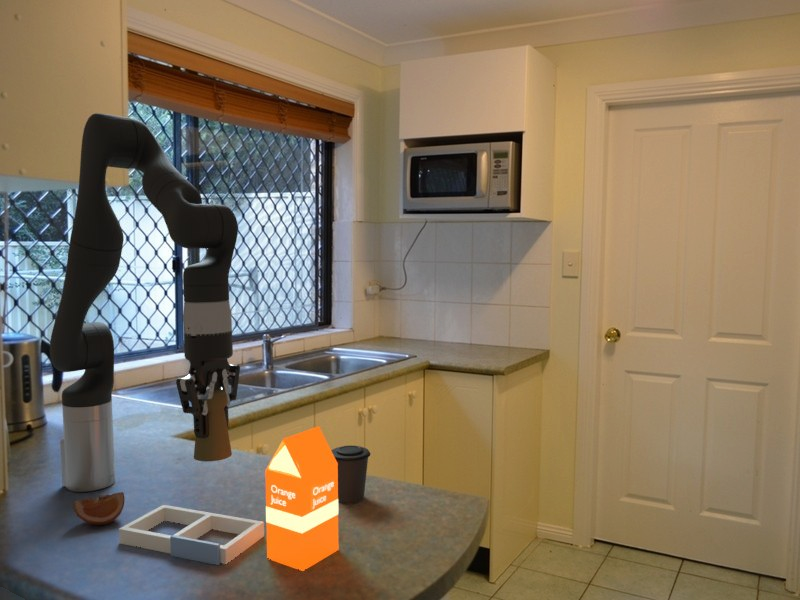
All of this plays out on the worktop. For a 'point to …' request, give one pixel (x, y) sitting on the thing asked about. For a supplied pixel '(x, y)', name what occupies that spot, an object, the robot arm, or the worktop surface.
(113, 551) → the worktop surface
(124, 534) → the white flat rectangular frame
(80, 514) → the fruit slice
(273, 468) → the orange juice
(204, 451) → the olive rounded piece
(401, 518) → the worktop surface
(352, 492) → the coffee cup
